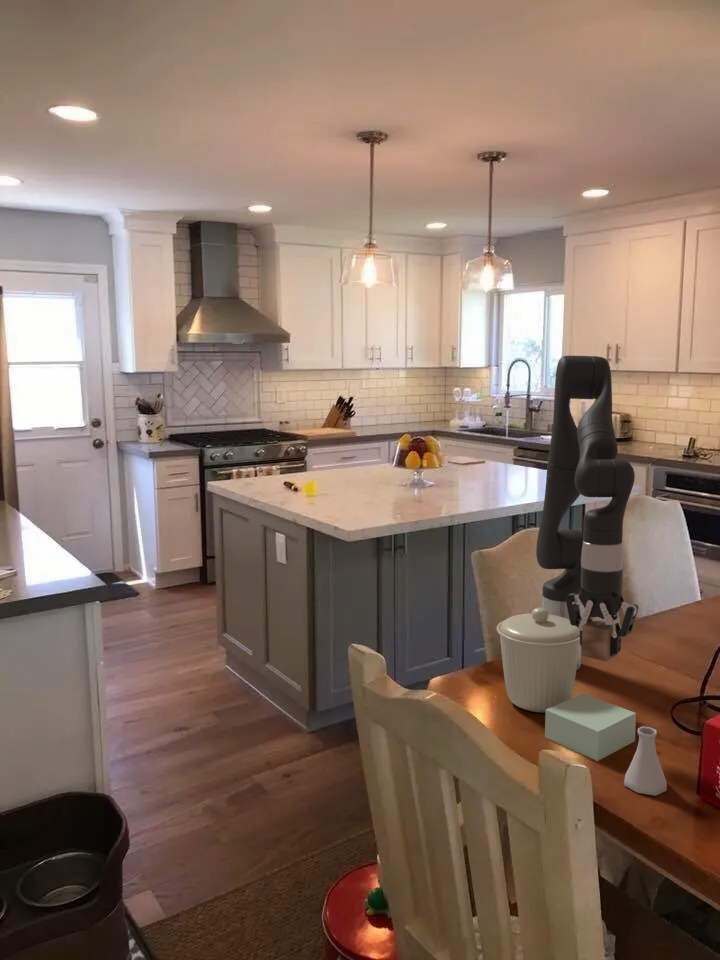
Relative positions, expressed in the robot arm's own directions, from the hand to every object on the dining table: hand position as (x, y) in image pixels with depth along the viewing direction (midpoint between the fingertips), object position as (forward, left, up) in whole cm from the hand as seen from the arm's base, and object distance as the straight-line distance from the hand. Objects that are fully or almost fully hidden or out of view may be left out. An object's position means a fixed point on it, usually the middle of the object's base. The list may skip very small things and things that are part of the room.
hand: (599, 651), depth 149 cm
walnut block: (0, 0, -1) cm, 1 cm away
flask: (+14, -10, -18) cm, 25 cm away
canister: (-17, +7, -18) cm, 26 cm away
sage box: (-1, -1, -18) cm, 18 cm away
